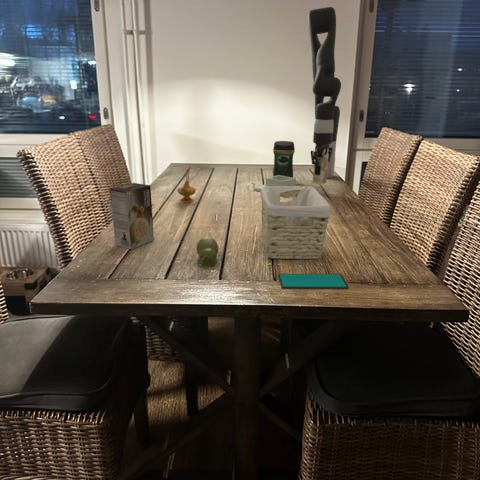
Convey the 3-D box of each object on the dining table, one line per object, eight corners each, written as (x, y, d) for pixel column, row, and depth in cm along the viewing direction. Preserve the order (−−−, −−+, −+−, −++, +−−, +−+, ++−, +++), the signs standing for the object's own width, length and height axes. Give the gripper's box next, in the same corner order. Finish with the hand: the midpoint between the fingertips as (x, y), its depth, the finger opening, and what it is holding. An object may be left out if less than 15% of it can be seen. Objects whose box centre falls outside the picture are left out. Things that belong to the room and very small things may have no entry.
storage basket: (258, 231, 135) (259, 184, 130) (311, 232, 135) (314, 185, 130) (264, 262, 112) (266, 206, 107) (327, 262, 113) (332, 206, 108)
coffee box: (138, 236, 128) (134, 182, 123) (154, 240, 125) (151, 185, 120) (114, 245, 121) (109, 188, 116) (131, 250, 118) (126, 191, 112)
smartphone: (349, 287, 98) (282, 286, 97) (348, 290, 98) (281, 290, 98) (341, 273, 105) (278, 273, 104) (340, 277, 105) (278, 276, 105)
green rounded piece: (217, 233, 115) (220, 253, 106) (217, 251, 117) (219, 271, 109) (196, 233, 114) (196, 253, 106) (196, 251, 117) (196, 272, 108)
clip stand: (276, 184, 197) (276, 172, 195) (306, 190, 187) (307, 178, 185) (253, 190, 185) (254, 178, 184) (285, 196, 176) (285, 184, 174)
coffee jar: (293, 181, 204) (295, 140, 198) (292, 184, 197) (295, 142, 190) (272, 180, 205) (274, 139, 199) (271, 183, 198) (272, 141, 192)
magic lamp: (173, 207, 158) (172, 177, 154) (180, 195, 175) (179, 167, 171) (192, 207, 158) (192, 177, 154) (197, 195, 175) (197, 168, 171)
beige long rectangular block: (317, 181, 184) (320, 149, 179) (326, 183, 182) (328, 150, 177) (312, 183, 181) (315, 150, 177) (321, 184, 179) (323, 151, 174)
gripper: (324, 128, 182) (320, 170, 188) (305, 131, 171) (302, 175, 177) (340, 130, 177) (336, 172, 183) (322, 133, 167) (319, 178, 173)
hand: (320, 173), depth 180 cm, fingers closed on beige long rectangular block, 4 cm apart
